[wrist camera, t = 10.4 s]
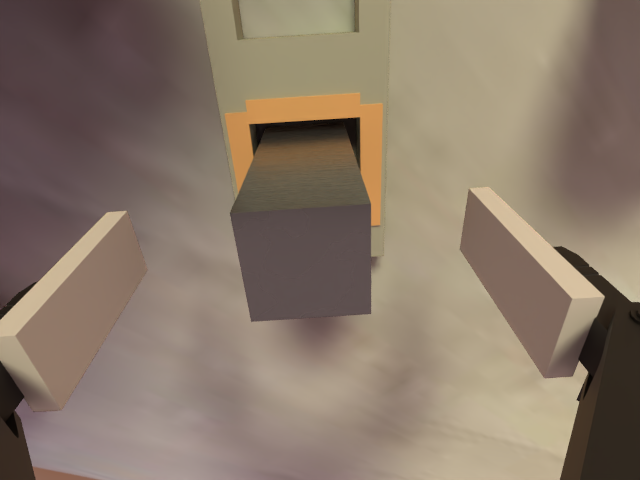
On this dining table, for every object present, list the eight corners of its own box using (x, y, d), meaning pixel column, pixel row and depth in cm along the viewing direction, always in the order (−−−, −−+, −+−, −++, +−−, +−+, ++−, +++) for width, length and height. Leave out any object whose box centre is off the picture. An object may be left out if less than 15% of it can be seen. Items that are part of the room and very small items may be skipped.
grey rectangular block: (275, 198, 25) (251, 321, 15) (266, 127, 23) (230, 213, 13) (345, 193, 25) (370, 313, 15) (343, 121, 23) (371, 203, 12)
